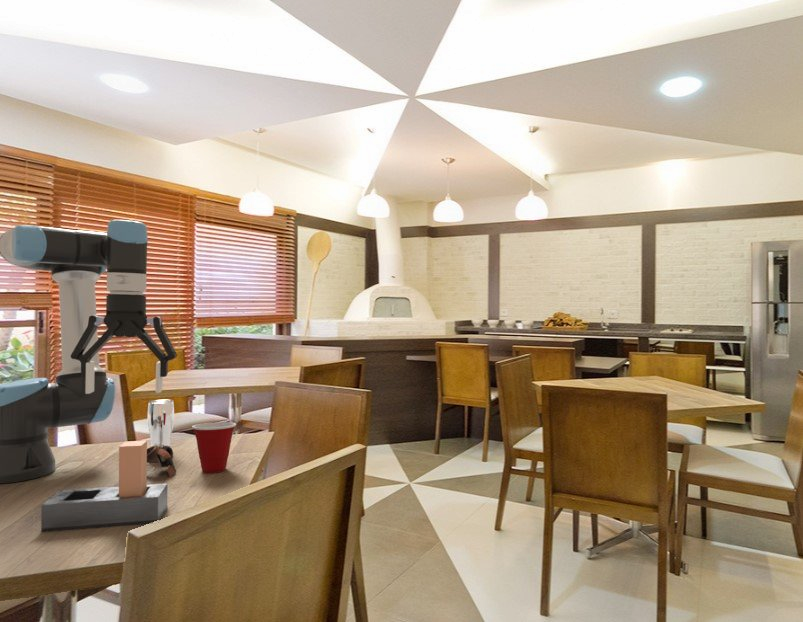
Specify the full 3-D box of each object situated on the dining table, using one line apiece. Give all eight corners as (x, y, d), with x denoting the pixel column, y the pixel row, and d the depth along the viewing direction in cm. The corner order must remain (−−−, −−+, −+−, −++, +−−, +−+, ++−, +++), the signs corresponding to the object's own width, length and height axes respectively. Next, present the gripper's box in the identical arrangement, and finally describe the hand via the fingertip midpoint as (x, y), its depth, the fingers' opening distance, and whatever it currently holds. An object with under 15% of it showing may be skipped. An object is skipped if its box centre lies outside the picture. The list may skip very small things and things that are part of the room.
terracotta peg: (118, 518, 99) (119, 446, 99) (124, 511, 103) (125, 441, 103) (140, 517, 100) (141, 445, 100) (146, 509, 104) (146, 440, 104)
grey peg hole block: (41, 532, 94) (41, 504, 94) (59, 515, 102) (60, 490, 102) (158, 522, 99) (158, 496, 99) (167, 507, 107) (167, 483, 107)
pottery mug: (169, 483, 123) (149, 455, 122) (137, 498, 125) (117, 471, 123) (190, 456, 135) (172, 431, 133) (160, 471, 136) (143, 446, 135)
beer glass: (141, 455, 145) (141, 402, 145) (159, 449, 152) (160, 398, 152) (161, 457, 143) (162, 404, 143) (179, 451, 149) (179, 400, 150)
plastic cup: (236, 462, 139) (237, 418, 139) (235, 474, 129) (235, 426, 129) (194, 465, 136) (194, 420, 136) (188, 477, 126) (189, 429, 126)
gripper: (53, 291, 103) (51, 396, 104) (185, 295, 108) (183, 394, 109) (69, 291, 110) (67, 389, 111) (191, 295, 116) (189, 388, 116)
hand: (124, 392), depth 110 cm, fingers open, 13 cm apart
